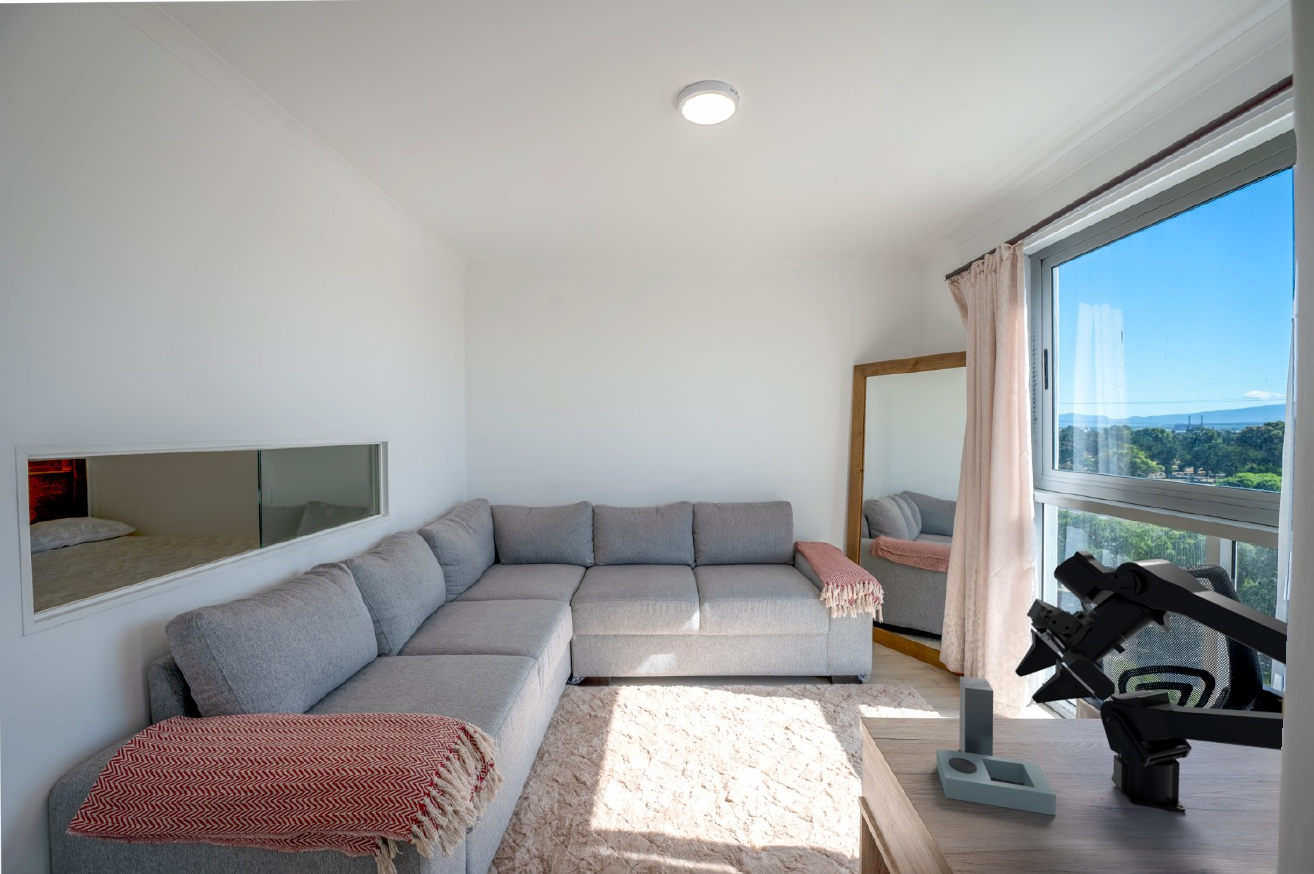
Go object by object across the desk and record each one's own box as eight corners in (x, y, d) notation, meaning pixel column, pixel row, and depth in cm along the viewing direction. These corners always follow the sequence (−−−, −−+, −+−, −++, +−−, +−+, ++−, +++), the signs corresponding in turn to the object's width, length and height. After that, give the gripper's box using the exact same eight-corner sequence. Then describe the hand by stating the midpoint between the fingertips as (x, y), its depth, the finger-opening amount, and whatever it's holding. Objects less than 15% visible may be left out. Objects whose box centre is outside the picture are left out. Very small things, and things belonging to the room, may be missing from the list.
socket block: (1036, 781, 87) (1037, 761, 87) (1055, 815, 80) (1055, 794, 80) (936, 766, 92) (936, 747, 91) (945, 797, 84) (945, 777, 84)
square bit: (986, 752, 95) (986, 679, 94) (992, 767, 91) (993, 690, 91) (959, 748, 96) (959, 676, 96) (964, 763, 92) (965, 687, 92)
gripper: (1045, 570, 98) (973, 627, 102) (1088, 604, 80) (999, 672, 84) (1100, 619, 96) (1024, 676, 99) (1156, 666, 78) (1061, 733, 82)
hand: (1025, 686), depth 91 cm, fingers open, 9 cm apart
